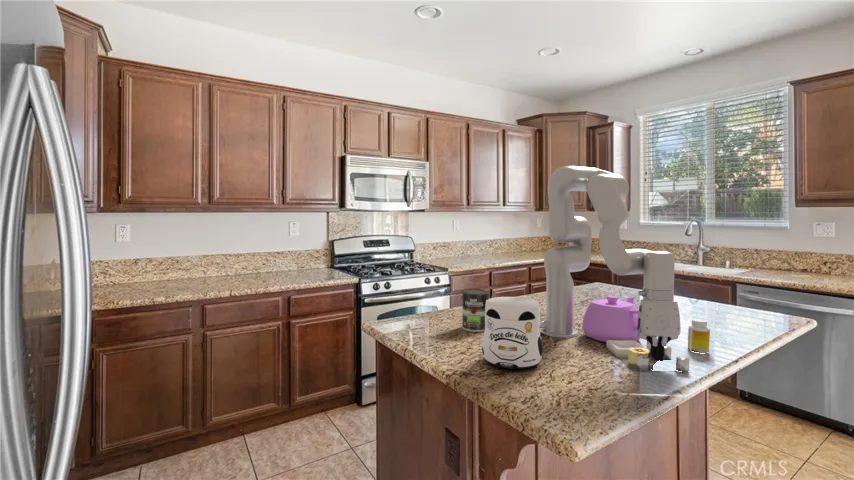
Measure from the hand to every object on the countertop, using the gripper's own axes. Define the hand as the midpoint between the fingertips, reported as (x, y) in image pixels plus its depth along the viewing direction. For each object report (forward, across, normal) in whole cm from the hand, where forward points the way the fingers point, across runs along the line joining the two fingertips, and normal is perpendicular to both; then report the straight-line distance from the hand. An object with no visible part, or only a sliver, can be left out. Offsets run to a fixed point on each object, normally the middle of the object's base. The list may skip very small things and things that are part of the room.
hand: (657, 358), depth 116 cm
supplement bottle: (+2, +18, +13) cm, 22 cm away
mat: (+2, -1, +5) cm, 5 cm away
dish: (+2, -4, +10) cm, 11 cm away
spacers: (+2, -1, +4) cm, 5 cm away
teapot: (+2, -3, +25) cm, 26 cm away
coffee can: (+2, -50, +36) cm, 61 cm away
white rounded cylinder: (+2, -41, 0) cm, 41 cm away
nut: (+2, -5, 0) cm, 5 cm away
